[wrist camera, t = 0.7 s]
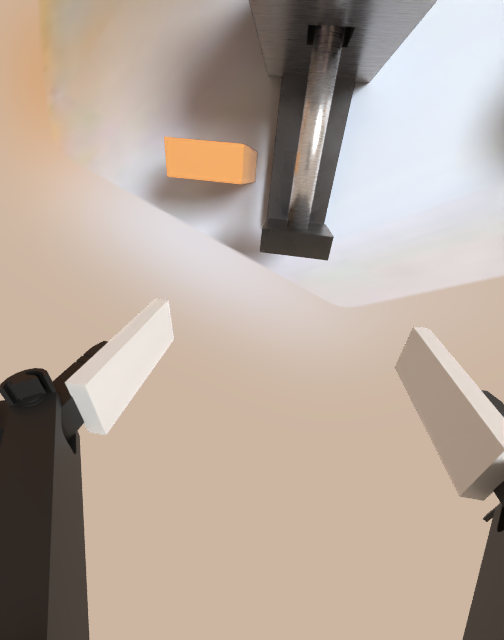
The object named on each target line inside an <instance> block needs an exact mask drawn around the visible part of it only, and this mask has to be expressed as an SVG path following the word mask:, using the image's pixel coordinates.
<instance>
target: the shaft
mask: <svg viewBox="0 0 504 640" xmlns="http://www.w3.org/2000/svg"><path fill="white" fill-rule="evenodd" d="M345 28H346V27H345V26H326V25H316V28H315V35H314V42H313V48H312V55H311V62H310V69H309V75H308V82H307V89H306V96H305V103H304V109H303V116H302V123H301V130H300V137H299V143H298V150H297V157H296V164H295V170H294V177H293V184H292V191H291V198H290V204H289V211H288V218H287V220H281V219H272V218H268V219H267V221H266V223H265V225H264V226H263V228H262V235H261V245H260V252H265V253H273V254H281V255H289V256H297V257H305V258H313V259H321V260H328V257H329V253H330V249H331V245H332V241H333V235H332V234H331V232H330V231H329V229H328V228H327V226H326V225H325V224H316V223H309V218H310V212H311V207H312V202H313V197H314V191H315V186H316V181H317V176H318V170H319V165H320V160H321V154H322V149H323V144H324V139H325V133H326V128H327V123H328V118H329V112H330V107H331V102H332V96H333V91H334V86H335V81H336V75H337V70H338V65H339V59H340V54H341V49H342V44H343V38H344V33H345Z"/></svg>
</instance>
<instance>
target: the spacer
mask: <svg viewBox="0 0 504 640" xmlns="http://www.w3.org/2000/svg"><path fill="white" fill-rule="evenodd" d="M164 141H165V154H166V167H167V177H175V178H185V179H195V180H204V181H214V182H224V183H233V184H246V183H252V182H255V175H256V162H257V152H256V151H255V150H253V149H251V148H250V147H248V146H247V145H245V144H239V143H228V142H217V141H206V140H195V139H184V138H173V137H164Z"/></svg>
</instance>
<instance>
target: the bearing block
mask: <svg viewBox="0 0 504 640" xmlns="http://www.w3.org/2000/svg"><path fill="white" fill-rule="evenodd" d="M436 1H437V0H249V2H250V6H251V10H252V14H253V18H254V22H255V26H256V30H257V34H258V38H259V41H260V45H261V49H262V53H263V57H264V61H265V65H266V69H267V73H268V76H279V77H282V84H281V93H280V102H279V112H278V121H277V130H276V139H275V149H274V158H273V167H272V176H271V186H270V195H269V204H268V213H267V219H268V218H272V219H281V220H287V218H288V211H289V204H290V198H291V191H292V184H293V177H294V170H295V164H296V157H297V150H298V143H299V137H300V130H301V123H302V116H303V109H304V103H305V96H306V89H307V82H308V75H309V69H310V62H311V55H312V48H313V42H314V35H315V28H316V25H326V26H345V27H346V28H345V33H344V38H343V44H342V49H341V54H340V59H339V65H338V70H337V75H336V81H335V86H334V91H333V96H332V102H331V107H330V112H329V118H328V123H327V128H326V133H325V139H324V144H323V149H322V154H321V160H320V165H319V170H318V176H317V181H316V186H315V191H314V197H313V202H312V207H311V212H310V218H309V223H316V224H324V221H325V217H326V212H327V208H328V203H329V198H330V194H331V189H332V185H333V180H334V176H335V171H336V167H337V162H338V157H339V153H340V148H341V144H342V139H343V135H344V130H345V126H346V121H347V116H348V112H349V107H350V103H351V98H352V94H353V89H354V85H355V82H367V83H369V82H370V81H371V80H372V79H373V78H374V76H375V75H376V74H377V73H378V72H379V70H380V69H381V68H382V67H383V65H384V64H385V63H386V62H387V61H388V59H389V58H390V57H391V56H392V55H393V53H394V52H395V51H396V50H397V49H398V47H399V46H400V45H401V44H402V43H403V41H404V40H405V39H406V38H407V37H408V35H409V34H410V33H411V32H412V30H413V29H414V28H415V27H416V26H417V24H418V23H419V22H420V21H421V20H422V18H423V17H424V16H425V15H426V14H427V12H428V11H429V10H430V9H431V8H432V6H433V5H434V4H435V3H436Z"/></svg>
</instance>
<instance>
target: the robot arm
mask: <svg viewBox="0 0 504 640" xmlns="http://www.w3.org/2000/svg"><path fill="white" fill-rule="evenodd" d="M173 340H174V334H173V327H172V320H171V313H170V306H169V300H168V299H159V298H155V299H154V300H153V301H152V302H151V303H150V304H149V305H148V306H147V307H146V308H145V309H143V310H142V311H141V312H140V313H139V314H138V315H137V316H136V317H135V318H134V319H133V320H131V321H130V322H129V323H128V324H127V325H126V326H125V327H124V328H123V329H122V330H121V331H120V332H119V333H117V334H116V335H115V336H114V337H113V338H112V339H111V340H110V341H109V342H107V341H103V342H101V343H99V344H97V345H95V346H93V347H92V348H90V349H89V350H88V351H87V352H86V353H85V354H84V356H81V357H80V358H79V359H78V360H77V362H74V363H73V364H72V365H71V366H70V367H69V368H68V369H67V370H65V371H64V372H63V373H62V374H61V375H60V376H59V377H57V378H56V379H55V380H54V381H53V382H52V380H51V378H50V376H49V374H48V372H47V371H46V370H44V369H38V368H34V369H28V370H24V371H21V372H19V373H16V374H14V375H12V376H10V377H9V378H7V379H6V380H5V381H4V382H2V383H1V385H0V393H1V395H2V396H3V397H4V399H5V400H3V401H0V640H89V626H88V625H89V624H88V602H87V582H86V561H85V540H84V519H83V498H82V478H81V457H80V436H79V433H78V431H77V430H78V429H79V428H80V427H81V426H82V424H83V423H84V424H85V426H86V428H87V430H88V432H91V433H97V434H103V435H106V434H107V433H108V432H109V430H110V429H111V427H112V426H113V425H114V423H115V422H116V420H117V419H118V417H119V416H120V415H121V413H122V412H123V411H124V409H125V408H126V406H127V405H128V403H129V402H130V401H131V399H132V398H133V396H134V395H135V393H136V392H137V391H138V389H139V388H140V387H141V385H142V384H143V382H144V381H145V380H146V378H147V377H148V375H149V374H150V373H151V371H152V370H153V368H154V367H155V366H156V364H157V362H158V361H159V360H160V358H161V357H162V355H163V354H164V353H165V351H166V350H167V349H168V347H169V346H170V344H171V343H172V341H173ZM395 369H396V371H397V373H398V375H399V377H400V379H401V381H402V382H403V385H404V386H405V388H406V391H407V393H408V395H409V397H410V398H411V401H412V403H413V405H414V407H415V409H416V411H417V412H418V414H419V416H420V418H421V420H422V422H423V424H424V426H425V428H426V430H427V432H428V434H429V436H430V438H431V440H432V442H433V444H434V446H435V448H436V450H437V452H438V454H439V456H440V458H441V460H442V462H443V464H444V466H445V468H446V470H447V472H448V474H449V476H450V478H451V480H452V482H453V484H454V486H455V488H456V490H457V492H458V494H459V496H460V497H466V498H472V499H478V500H485V499H486V498H487V497H488V496H489V495H490V494H491V493H492V492H495V494H496V496H497V497H498V499H499V501H500V502H501V503H500V504H499V505H498V506H496V507H495V508H494V509H493V510H491V511H490V512H489V513H488V514H487V515H486V516H485V517H484V518H483V519H484V520H485V521H486V522H488V521H489V520H490V519H491V518H493V520H492V523H491V527H490V532H489V536H488V540H487V544H486V548H485V552H484V556H483V560H482V564H481V568H480V572H479V576H478V580H477V584H476V588H475V592H474V596H473V600H472V604H471V608H470V612H469V616H468V621H467V625H466V628H465V632H464V636H463V640H504V404H503V403H502V402H501V401H500V400H498V399H497V398H496V397H494V396H493V395H492V394H490V393H489V392H488V391H483V390H480V389H479V387H478V386H477V385H476V384H475V383H474V382H473V380H472V379H471V378H470V377H469V376H468V374H467V373H466V372H465V371H464V370H463V368H462V367H461V366H460V365H459V364H458V362H457V361H456V360H455V359H454V358H453V356H452V355H451V354H450V353H449V352H448V350H447V349H446V348H445V347H444V346H443V344H442V343H441V342H440V341H439V340H438V339H437V337H436V336H435V335H434V334H433V333H432V331H431V330H430V329H428V328H420V327H413V329H412V331H411V333H410V335H409V337H408V340H407V342H406V344H405V346H404V349H403V351H402V353H401V355H400V357H399V360H398V362H397V364H396V366H395Z"/></svg>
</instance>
